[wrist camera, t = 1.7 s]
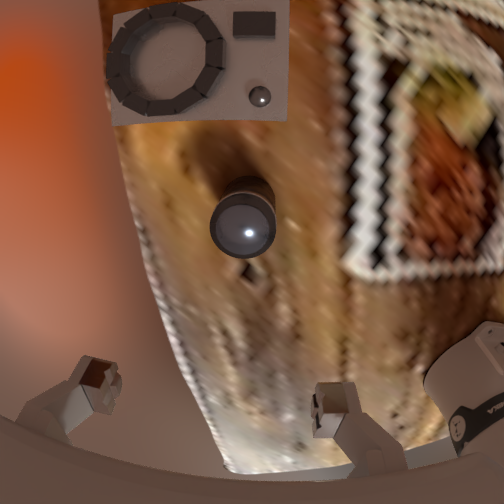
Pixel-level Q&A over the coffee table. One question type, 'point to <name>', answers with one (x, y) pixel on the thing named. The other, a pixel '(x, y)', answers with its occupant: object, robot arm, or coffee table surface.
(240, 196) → the lens
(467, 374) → the robot arm
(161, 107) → the camera body
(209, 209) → the coffee table surface
